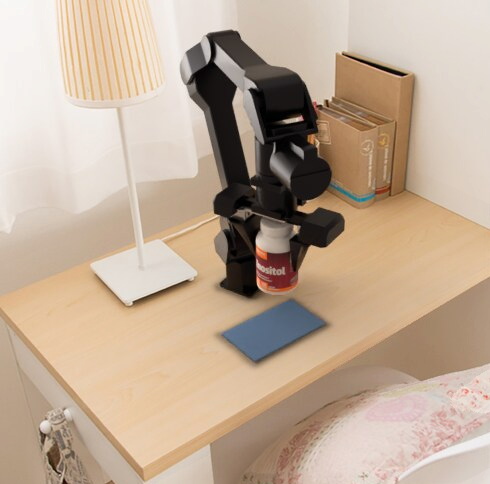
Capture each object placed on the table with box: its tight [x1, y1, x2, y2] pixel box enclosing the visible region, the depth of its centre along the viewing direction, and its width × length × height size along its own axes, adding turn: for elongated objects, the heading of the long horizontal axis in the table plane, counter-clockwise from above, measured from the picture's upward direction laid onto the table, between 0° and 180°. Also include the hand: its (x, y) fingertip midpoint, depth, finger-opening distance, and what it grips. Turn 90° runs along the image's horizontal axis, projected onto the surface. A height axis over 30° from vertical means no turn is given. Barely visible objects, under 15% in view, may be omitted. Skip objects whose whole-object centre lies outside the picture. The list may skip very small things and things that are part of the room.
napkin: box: [221, 298, 327, 364], centre depth 116 cm, size 14×8×1 cm, turn 129°
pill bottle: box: [256, 217, 299, 296], centre depth 108 cm, size 6×6×11 cm
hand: (277, 264), depth 109 cm, fingers closed on pill bottle, 6 cm apart
